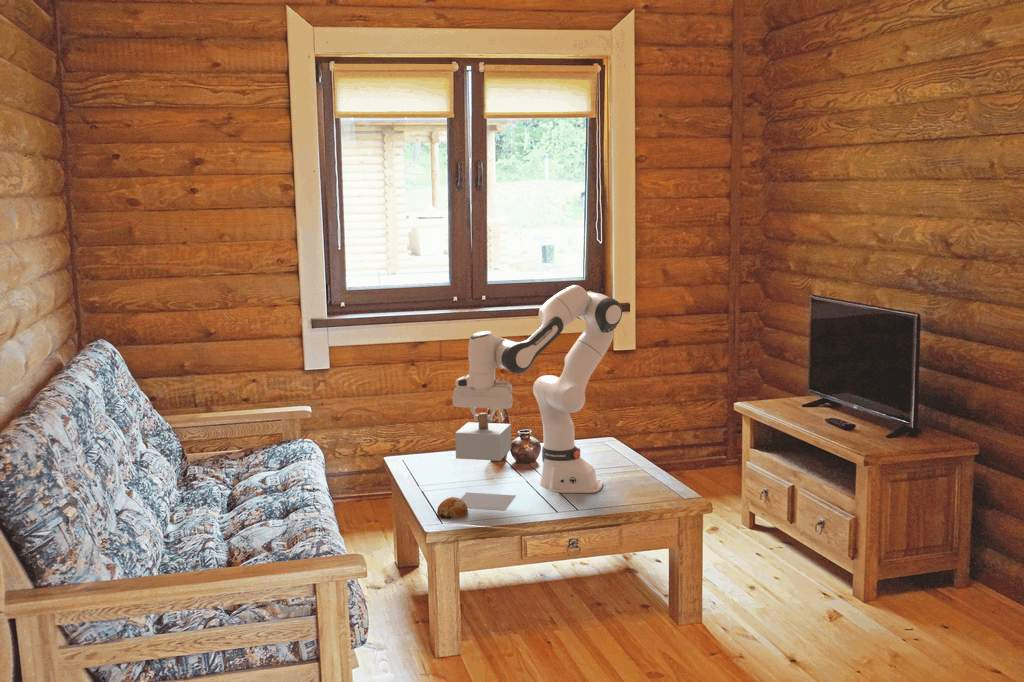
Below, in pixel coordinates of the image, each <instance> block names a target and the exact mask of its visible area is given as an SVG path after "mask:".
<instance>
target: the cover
mask: <svg viewBox="0 0 1024 682" xmlns="http://www.w3.org/2000/svg"><path fill="white" fill-rule="evenodd" d="M488 415H489V414H488V412H479V413H478V422H475V421H474V422H470V421H468V422H466V423H465V424H464V425H463V426H461V428H459V429H458V430H457V431H456V432H454V436H455V437H454V439H455V441H454V442H455V459H458V460H461V459H462V460H476V461H477V460H478V461H479V460H480V461H481V460H482V461H497V462H498V461H499V462H500V461H502V460H503V458H505V456H506V455H507V454H508V453H509V452H510V451H511V449H512V427H511V425H512V424H511V423H495V422H494V423H492V422H489V421H487V416H488Z"/></svg>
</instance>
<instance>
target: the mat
mask: <svg viewBox="0 0 1024 682" xmlns="http://www.w3.org/2000/svg"><path fill="white" fill-rule="evenodd" d="M516 497H517V495H516V494H500V493H498V494H497V493H486V492H485V493H484V492H483V493H482V492H465V493H464V494H463V496H462V497H461V498H460V499H461V500H463V501H464V502H465V504H466V505H467V508H468V509H471V510H472V509H473V510H474V509H475V510H489V511H503V512H505V511H507V509H508V508H509V507H510V505H511V503H512V502H513V500H514V499H515V498H516Z"/></svg>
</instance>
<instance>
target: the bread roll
mask: <svg viewBox="0 0 1024 682" xmlns="http://www.w3.org/2000/svg"><path fill="white" fill-rule="evenodd" d="M468 509H469V508H467V505H466V504H465V502H464V501H463V500H461V498H459V497H456V496H451V497H447V498H446V499H444V500H443V501H441V502H440V504H439V506H437V511H436V513H437V516H438V517H439V518H441V519H447V520H451V519H453V520H455V519H456V520H457V519H461V518H465V517H466V516H467V515H469V510H468Z"/></svg>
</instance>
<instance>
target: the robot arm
mask: <svg viewBox="0 0 1024 682" xmlns="http://www.w3.org/2000/svg"><path fill="white" fill-rule="evenodd" d="M622 316H623V307H622V304H621V303H620V302H619V301H618V300H617V299H615V298H613V297H609V296H607V295H605V294H603V293H599V292H594V291H590V290H586V289H585V288H583V287H582V286H580V285H578V284H573V285H570V286H567V287H565V288H564V289H562V290H560V291H559V292H557V293H555V294H554V295H553V296H551V297H550V298H549V299H547V300H545V302H544V303H543V304H542V305H541V306H540V308H539V310H538V320H539V322H540V325H541V326H540V327H538V329H537V330H536V331H535V332H534V333H532V334H531V336H529V337H528V338H527V339H526V340H523V341H514V340H512V339H507V338H503V337H500V336H499V335H496V334H494V333H493V332H492V331H489V330H482V331H477V332H473V334H471V336H470V337H469V341H468V350H467V351H468V357H467V358H468V359H467V360H468V363H469V368H468V374H466V375H463V376H461V377H458V378H457V379H456V380H455V382H454V385H455V386H456V387H454V389H453V392H452V405H453V406H454V407H455V408H469V409H470V410H469V411H470V412H471V415H473V421H474V422H475V421H476V422H477V421H478V422H479V420H478V414H479V413H478V414H477V412H476V409H477V408H478V409H489V411H490V414H488V416H487V421H488V422H493V418H494V417H493V416H494V414H495V413H496V410H497V409H500V410H501V409H502V410H509V409H510V408H512V407H513V405H514V400H513V394H512V393H513V392H514V386H513V384H512V383H511V382H509V381H508V380H496V369H497V368H502V369H505V370H507V371H509V372H511V373H513V374H516V375H518V374H524V373H525V372H527V371H528V370H529V369H530V368H531V367H532V365H533V363H534V362H535V360H536V359H537V357H538V356H539V355H540V354H541V353H542V352H543V351H544V350H545V349H547V347H548V346H550V344H552V343H553V341H555V339H557V338H558V337H559V336H561V335H560V334H562V331H563V330H564V329H566V327H567V326H569V325H570V324H571V323H573V322H574V321H575V320H577V319H579V320H581V321H584V322H585V323H586V324H585V328H584V330H583V332H582V333H581V334H580V335H579V337H578V338H577V339H576V341H575V342H574V343H573V345H572V347H571V348H570V350H569V351H567V352H568V353H566V355H565V356H564V367H563V369H562V372H561V375H560V376H556V375H552V374H551V375H550V374H546V375H541V376H539V377H537V379H536V380H535V381H534V383H533V384H532V385H533V386H532V393H533V395H534V397H535V399H536V402H537V404H538V409H539V412H540V418H541V423H542V431H543V436H542V437H543V442H542V443H543V446H542V449H541V459H542V471H541V477H540V480H539V486H540V487H542V488H543V489H547V490H549V491H550V492H555V493H558V494H562V493H563V494H566V493H567V494H570V493H571V494H574V493H575V494H577V493H579V494H584V493H585V494H587V493H588V494H589V493H591V494H592V493H597V492H598V491H600V490H601V489H602V488H603V481H602V480H601V479H600V478H597V473H596V470H595V467H594V466H593V465H592V464H591V463H589V462H587V461H586V460H585V459H584V458H582V457H581V447H577V446H576V445H575V424H574V421H573V420H572V418H571V414H573V413H577V412H579V411H580V410H581V409H583V406H584V405H585V403H586V388H587V385H588V382H589V380H590V378H591V376H592V374H593V373H594V371H595V370H596V368H597V367H598V365H599V363H600V362H601V361H602V359H603V358H604V356H605V354H606V353H607V351H608V350H609V347H611V343H612V342H613V340H614V335H615V334H614V330H615V329H616V328H617V326H618V324H620V322H621V319H622Z"/></svg>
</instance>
